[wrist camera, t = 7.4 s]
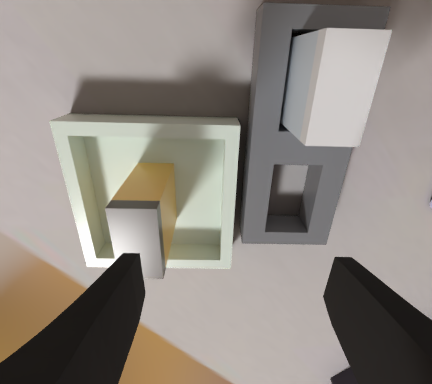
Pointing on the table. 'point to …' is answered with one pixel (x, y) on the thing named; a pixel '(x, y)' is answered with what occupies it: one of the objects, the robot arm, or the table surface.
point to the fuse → (332, 84)
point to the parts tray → (153, 153)
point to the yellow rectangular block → (145, 216)
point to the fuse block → (281, 137)
